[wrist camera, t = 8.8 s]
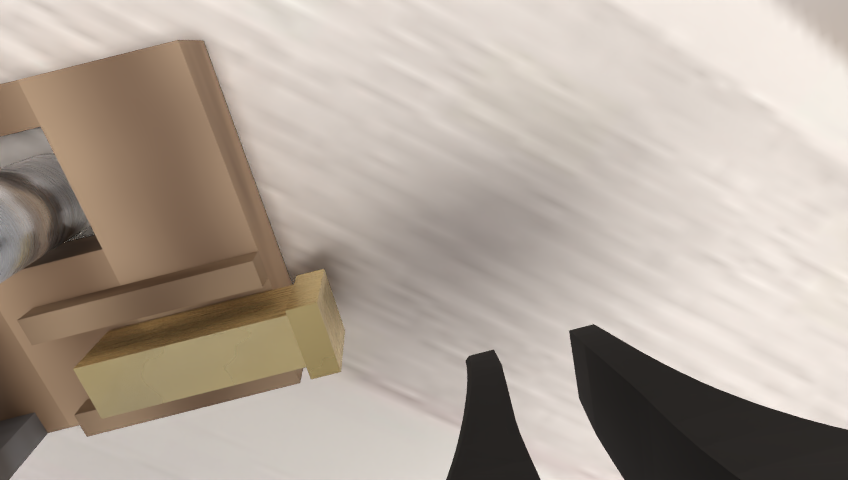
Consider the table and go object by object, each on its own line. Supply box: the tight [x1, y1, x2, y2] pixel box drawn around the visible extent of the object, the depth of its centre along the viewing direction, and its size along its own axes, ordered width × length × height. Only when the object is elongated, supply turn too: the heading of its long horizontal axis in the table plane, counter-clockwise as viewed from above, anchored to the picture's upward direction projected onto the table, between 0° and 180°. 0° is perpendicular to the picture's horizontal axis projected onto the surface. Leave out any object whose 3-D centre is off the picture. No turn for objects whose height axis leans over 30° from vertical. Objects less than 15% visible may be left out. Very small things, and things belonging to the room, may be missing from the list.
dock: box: [0, 40, 303, 480], centre depth 17 cm, size 13×12×6 cm
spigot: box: [0, 154, 90, 283], centre depth 16 cm, size 3×3×6 cm
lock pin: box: [73, 269, 345, 419], centre depth 18 cm, size 8×3×3 cm, turn 103°
